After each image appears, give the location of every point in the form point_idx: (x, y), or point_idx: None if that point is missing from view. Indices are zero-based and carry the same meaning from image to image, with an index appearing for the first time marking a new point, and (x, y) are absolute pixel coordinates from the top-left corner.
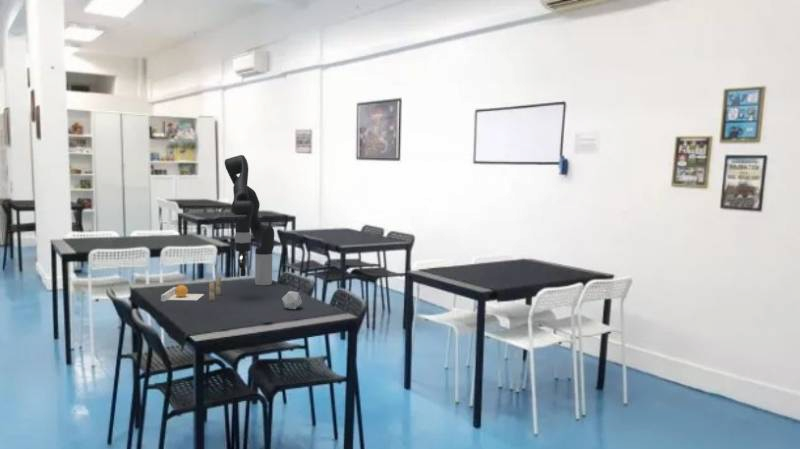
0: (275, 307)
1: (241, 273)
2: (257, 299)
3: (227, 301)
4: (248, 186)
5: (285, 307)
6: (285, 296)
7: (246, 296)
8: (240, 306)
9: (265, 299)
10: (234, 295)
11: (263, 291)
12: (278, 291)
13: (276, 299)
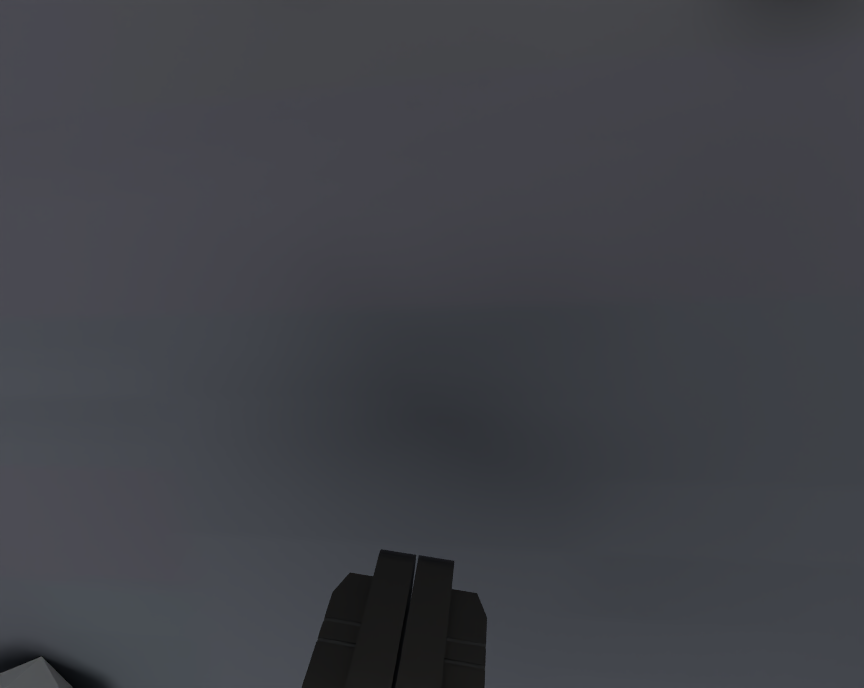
0: (54, 601)
1: (326, 614)
2: (388, 487)
3: (261, 146)
4: None
5: (25, 664)
6: None
7: (578, 379)
8: (12, 322)
9: None
10: (682, 221)
11: (856, 560)
12: (797, 680)
13: None
